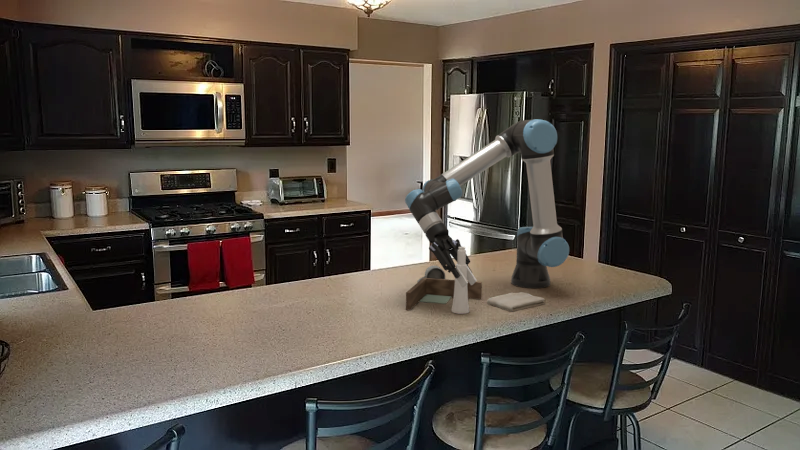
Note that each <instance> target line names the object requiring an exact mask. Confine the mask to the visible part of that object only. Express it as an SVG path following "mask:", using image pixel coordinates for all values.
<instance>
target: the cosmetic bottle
mask: <svg viewBox="0 0 800 450" xmlns="http://www.w3.org/2000/svg"><path fill="white" fill-rule="evenodd" d="M458 248H459V250H458V253H457V262H456V264H455V266H456V267H459V269H460V270H461V272H462V274H463V275H464V277H465V278H466V280H467V264H466V255H467V251H466V247H465V246H462V247H458ZM456 267H455V268H456ZM454 280H455V286H454V297H452V298H453V299H452V307H451V312H452V313H453V314H459V315H464V314H466V315H467V314H468V313H469V312H470V307H469V306H470V305H469V298H468V289H467V285H466V286H465V287H463V288H462V286H461V285H460V283H459V282H458V280H457V279H456V278H455V277H454ZM467 281H468V280H467Z"/></svg>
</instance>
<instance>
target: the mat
mask: <svg viewBox="0 0 800 450" xmlns="http://www.w3.org/2000/svg"><path fill="white" fill-rule="evenodd" d="M452 298H453V297H452V296H442V295H430V294H426V295H425V296H424V297H423V298H422V299H421V300H420V301H419V302H418V303H427V304H428V303H430V304H440V305H441V304H442V305H446V304H447V303H448V302H449V301H450V300H451V299H452Z"/></svg>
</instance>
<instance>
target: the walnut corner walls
mask: <svg viewBox="0 0 800 450" xmlns="http://www.w3.org/2000/svg"><path fill="white" fill-rule="evenodd" d="M421 278H422V277H421ZM454 286H455V279H446V278H445V279H434V278H422V279H421V280H420V281H419V282H418V283H416V284H414V285H413V286H412V287H411V288H410V289H408V290H407V291H406V292H405V310H406V311H411V310H412V309H413V308H414V307H415V306H416V305H417V304H418V303H420V302H419V301H420V300H421V299H422V298H423V297H424V296H425V295H426V294H430V295H442V296H452V297H451V298H454ZM467 289H468V299H473V300H475V299H476V300H482V298H483V297H482V295H483V294H482V293H483V281H476V282H475V283H474V284H473V285H470V283H469V282H468V284H467Z"/></svg>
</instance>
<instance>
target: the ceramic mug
mask: <svg viewBox="0 0 800 450" xmlns="http://www.w3.org/2000/svg"><path fill="white" fill-rule="evenodd" d="M422 278H434V279H446V273H445V270H444V269H443V268H441V267H439V265H430V266H428V267H427V268H426V269H425V272H424V276H422V277H420V278H419V279H418V280H417V281H416V282H417V283H418V282H419V281H420V280H421V279H422ZM417 283H416V284H417Z"/></svg>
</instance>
